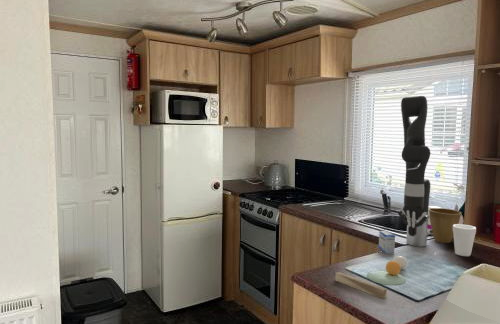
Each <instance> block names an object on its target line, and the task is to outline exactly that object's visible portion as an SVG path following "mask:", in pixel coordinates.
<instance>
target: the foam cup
mask: <svg viewBox="0 0 500 324" xmlns="http://www.w3.org/2000/svg"><path fill="white" fill-rule="evenodd" d="M476 233H477V227H476V226H473V225H469V224H461V223H459V224H454V225H453V235H454V237H453V244H454V245H453V246H454V254H455V255H458V256H461V257H471V254H472V250H473V246H474V241H475V235H476Z"/></svg>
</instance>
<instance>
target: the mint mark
mask: <svg viewBox="0 0 500 324" xmlns="http://www.w3.org/2000/svg"><path fill="white" fill-rule="evenodd" d="M374 271H375V272H377V273H375V274H373V273H370V272H371V271H370V272H367V274H366V277H367V279H369V280H370V281H372V282H374V283H377V284H381V285H386V286H398V285H403V284H404V283H406V278H405V277H404V276H403V275H401V274H400V273H399V274H397V275H390V274H389V273H388V272H387V271H386V270H374Z"/></svg>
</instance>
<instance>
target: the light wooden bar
mask: <svg viewBox="0 0 500 324" xmlns="http://www.w3.org/2000/svg"><path fill="white" fill-rule="evenodd" d="M335 282H338V283H341V284H343V285H346V286H349V287H351V288H354V289H357V290H358V291H360V292H361V291H362V292H364V293H366V294H369V295H372V296H373V297H377V298H380V299H382V300H384V299H386V298H387V291H388V290H387V288H385V287H382V286H380V285H377V284H375V283H371V282H368V281H366V280H363V279H361V278H357V277H354V276H352V275H349V274H346V273H344V272H341V271H338V272H335Z"/></svg>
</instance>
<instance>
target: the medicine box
mask: <svg viewBox="0 0 500 324" xmlns="http://www.w3.org/2000/svg"><path fill="white" fill-rule="evenodd" d="M395 244H396V235H395V234H393V233H392V232H390V231H387V230H379V235H378V250H380V251H382V252H383V253H384V254H395V249H396V247H395V246H396V245H395Z"/></svg>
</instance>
